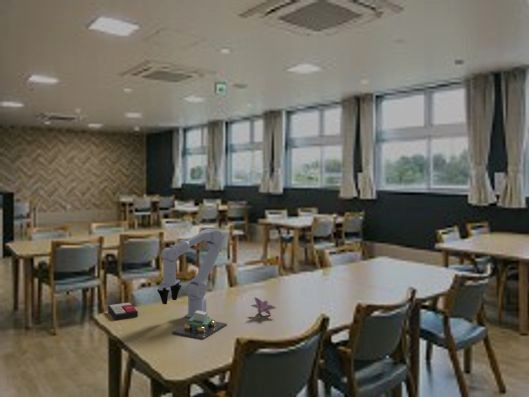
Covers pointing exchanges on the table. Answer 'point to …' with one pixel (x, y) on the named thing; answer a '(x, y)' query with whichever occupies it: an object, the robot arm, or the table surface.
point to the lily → (262, 306)
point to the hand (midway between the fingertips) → (169, 301)
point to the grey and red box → (122, 311)
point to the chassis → (199, 330)
